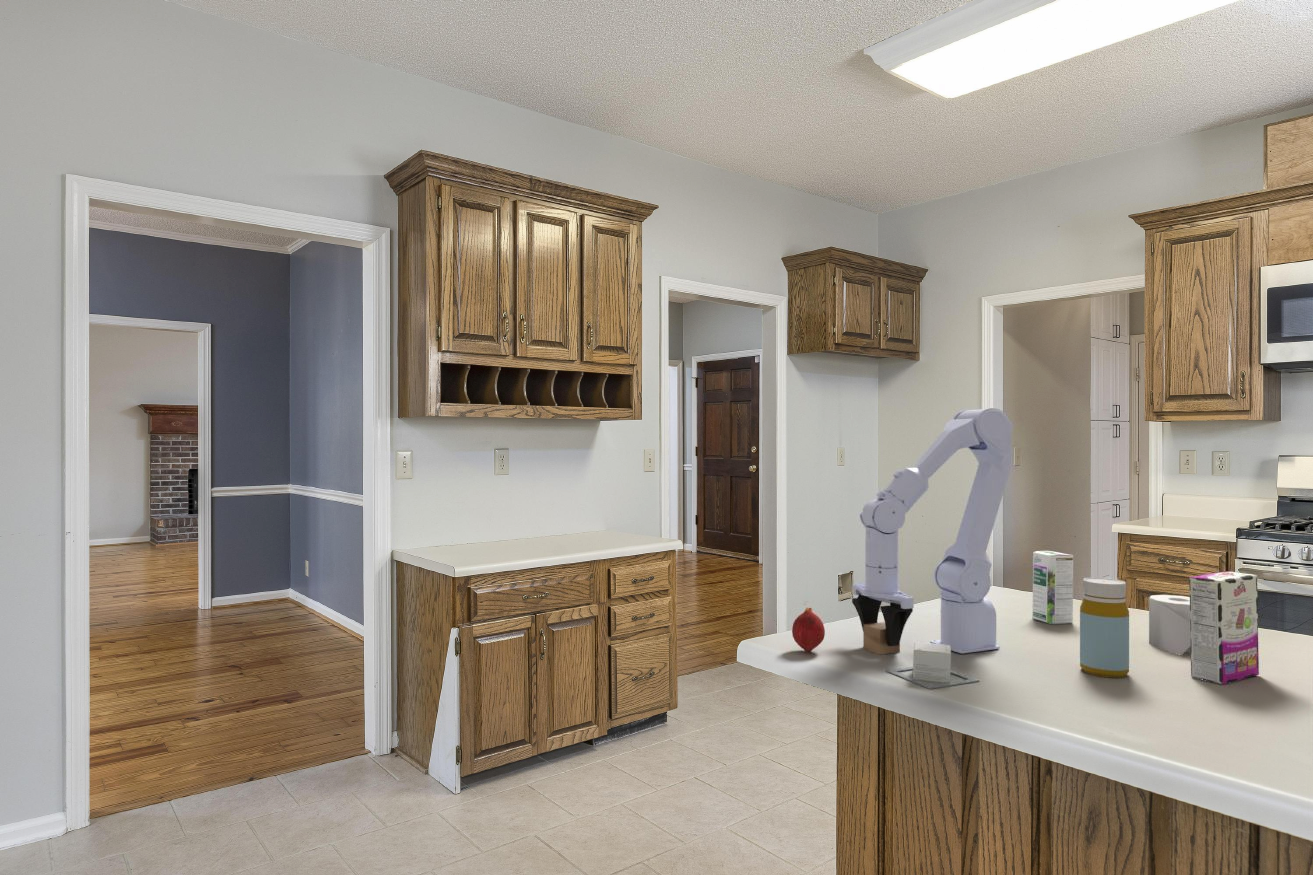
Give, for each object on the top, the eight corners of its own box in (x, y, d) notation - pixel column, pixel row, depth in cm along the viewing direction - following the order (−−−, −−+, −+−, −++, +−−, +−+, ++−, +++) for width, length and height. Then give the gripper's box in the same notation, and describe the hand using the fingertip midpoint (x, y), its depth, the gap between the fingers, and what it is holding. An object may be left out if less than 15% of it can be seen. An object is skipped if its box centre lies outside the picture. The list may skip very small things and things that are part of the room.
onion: (824, 657, 137) (825, 611, 137) (791, 655, 138) (791, 609, 138) (824, 648, 143) (824, 604, 143) (792, 646, 144) (792, 603, 144)
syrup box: (1031, 618, 168) (1031, 550, 168) (1054, 617, 169) (1054, 550, 169) (1050, 624, 162) (1050, 554, 162) (1074, 623, 164) (1074, 553, 164)
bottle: (1123, 668, 131) (1123, 578, 131) (1133, 680, 124) (1133, 585, 124) (1076, 664, 133) (1076, 576, 133) (1084, 676, 126) (1084, 583, 126)
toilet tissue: (1180, 657, 138) (1180, 608, 138) (1139, 638, 151) (1139, 594, 151) (1234, 659, 137) (1234, 609, 137) (1188, 639, 150) (1188, 595, 150)
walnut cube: (883, 646, 145) (883, 622, 145) (899, 652, 141) (899, 627, 141) (863, 648, 143) (863, 624, 143) (879, 655, 139) (879, 629, 139)
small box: (950, 684, 122) (951, 652, 122) (912, 680, 124) (912, 649, 124) (950, 674, 127) (950, 643, 127) (913, 670, 129) (913, 640, 129)
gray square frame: (933, 664, 132) (933, 663, 132) (979, 681, 123) (979, 680, 123) (886, 671, 128) (886, 670, 128) (929, 689, 119) (929, 687, 119)
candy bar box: (1225, 668, 131) (1225, 570, 131) (1260, 675, 127) (1260, 574, 127) (1187, 676, 126) (1187, 575, 126) (1221, 685, 122) (1221, 580, 122)
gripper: (839, 561, 147) (838, 633, 147) (890, 573, 134) (890, 653, 133) (869, 559, 150) (869, 630, 150) (923, 571, 136) (923, 649, 136)
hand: (881, 641), depth 142 cm, fingers open, 6 cm apart
